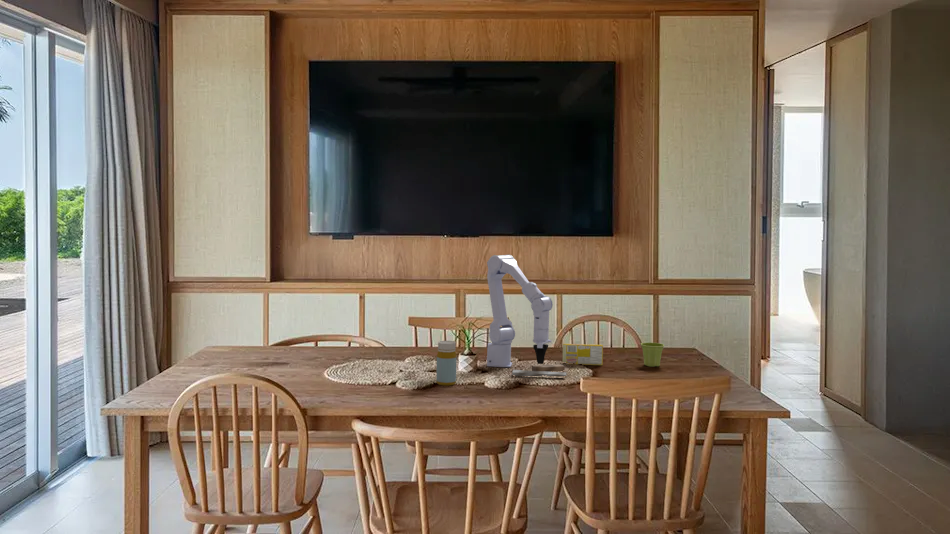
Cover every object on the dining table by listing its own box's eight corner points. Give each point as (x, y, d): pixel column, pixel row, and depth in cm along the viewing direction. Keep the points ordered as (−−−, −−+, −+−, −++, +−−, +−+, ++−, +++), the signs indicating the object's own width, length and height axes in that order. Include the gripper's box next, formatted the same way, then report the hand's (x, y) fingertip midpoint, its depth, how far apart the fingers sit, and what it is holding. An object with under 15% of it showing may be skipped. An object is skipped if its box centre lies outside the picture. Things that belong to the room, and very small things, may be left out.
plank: (535, 375, 302) (535, 367, 302) (531, 373, 306) (531, 365, 305) (564, 373, 306) (564, 365, 305) (560, 371, 309) (560, 364, 309)
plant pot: (638, 366, 321) (638, 345, 320) (642, 362, 330) (643, 341, 329) (661, 368, 317) (662, 347, 317) (665, 364, 326) (666, 343, 325)
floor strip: (512, 376, 297) (512, 372, 297) (513, 373, 303) (513, 369, 303) (565, 379, 295) (565, 374, 295) (566, 376, 300) (566, 371, 300)
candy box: (602, 364, 324) (602, 344, 323) (602, 365, 322) (603, 345, 321) (562, 363, 325) (562, 343, 325) (562, 364, 323) (562, 344, 322)
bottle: (448, 387, 279) (449, 344, 277) (432, 384, 282) (433, 342, 281) (459, 383, 284) (460, 341, 283) (443, 380, 288) (444, 339, 287)
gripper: (551, 331, 296) (550, 367, 297) (552, 326, 310) (551, 360, 311) (532, 331, 297) (531, 367, 298) (534, 325, 311) (533, 359, 312)
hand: (540, 363), depth 304 cm, fingers closed
